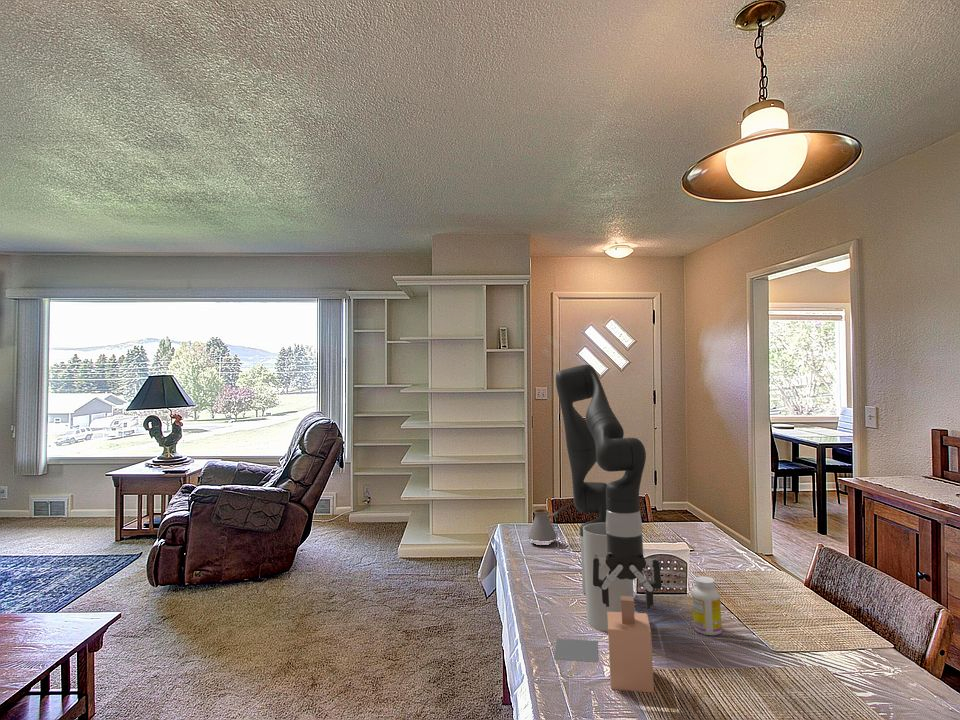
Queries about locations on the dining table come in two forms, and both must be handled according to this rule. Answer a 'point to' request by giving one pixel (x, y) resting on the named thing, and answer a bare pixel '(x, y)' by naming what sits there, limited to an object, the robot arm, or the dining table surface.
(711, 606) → the supplement bottle
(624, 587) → the cylinder vase
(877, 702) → the dining table surface
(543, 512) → the coffee pot
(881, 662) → the dining table surface
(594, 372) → the robot arm
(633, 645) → the orange square bottle
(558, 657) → the mat
